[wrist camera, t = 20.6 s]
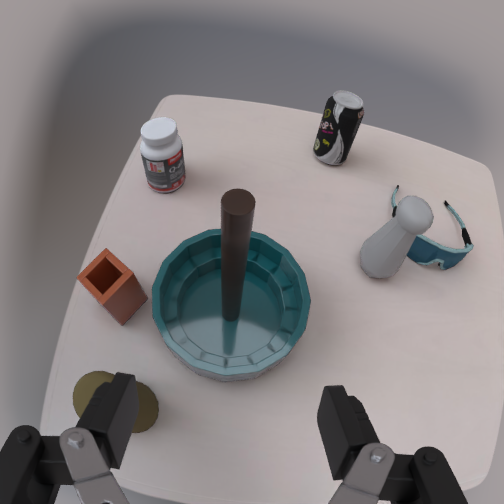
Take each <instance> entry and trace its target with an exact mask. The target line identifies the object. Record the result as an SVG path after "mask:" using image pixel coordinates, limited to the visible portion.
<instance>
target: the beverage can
mask: <svg viewBox="0 0 504 504" xmlns="http://www.w3.org/2000/svg"><path fill="white" fill-rule="evenodd" d="M362 106H363V101H362V100H361V98H360V97H358V96H357V95H355V94H353V93H351V92H348V91H343V90H341V91H336V92H334V94H333V96H332V97H330V98H329V99H328V101H327V103H326V106H325V110H324V113H323V117H322V120H321V124H320V127H319V130H318V134H317V137H316V141H315V144H314V148H313V151H314V154H315V155H316V157H317V158H318V159H319V160H321V161H322V162H324V163H327V164H330V165H339V164H342V163H343V162H345V160H346V158H347V156H348V153H349V151H350V148H351V146H352V143H353V141H354V138H355V136H356V133H357V131H358V128H359V126H360V123H361V121H362V118H363V115H364V110H363V107H362Z"/></svg>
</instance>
